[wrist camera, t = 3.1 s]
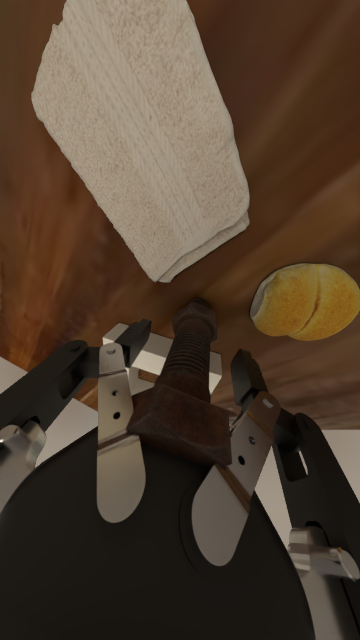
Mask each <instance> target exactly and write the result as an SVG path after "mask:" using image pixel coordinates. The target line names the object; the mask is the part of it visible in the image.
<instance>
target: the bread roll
mask: <svg viewBox="0 0 360 640" xmlns="http://www.w3.org/2000/svg"><path fill="white" fill-rule="evenodd" d="M359 310H360V290H359V287H358V286H357V284H356V282H355V281H354V280H353V279H352V278H351V277H350V276H349V275H348V274H347V273H346V272H345V271H343V270H342V269H340V268H338V267H335V266H332V265H328V264H306V263H302V264H296V265H291V266H287V267H284V268H282V269H279V270H277V271H275V272H274V273H272V274H271V275H270V276H268V277H267V278H266V279H265V280H264V281H263V282H262V283H261V285H260V286H259V288H258V291H257V292H256V294H255V297H254V300H253V302H252V306H251V310H250V317H251V319H252V320H253V322H254V324H255V326H256V327H257V329H258V330H260V331H261V332H263V333H265V334H267V335H270V336H283V335H288V336H290V337H291V338H294V339H296V340H301V341H313V340H320V339H324V338H327V337H329V336H332V335H334V334H336V333H338V332H339V331H341V330H342V329H344V328H345V327H346V326H347V325H349V324H350V323H351V322H352V321H353V319H354V318H355V317H356V316H357V314H358V312H359Z"/></svg>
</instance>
